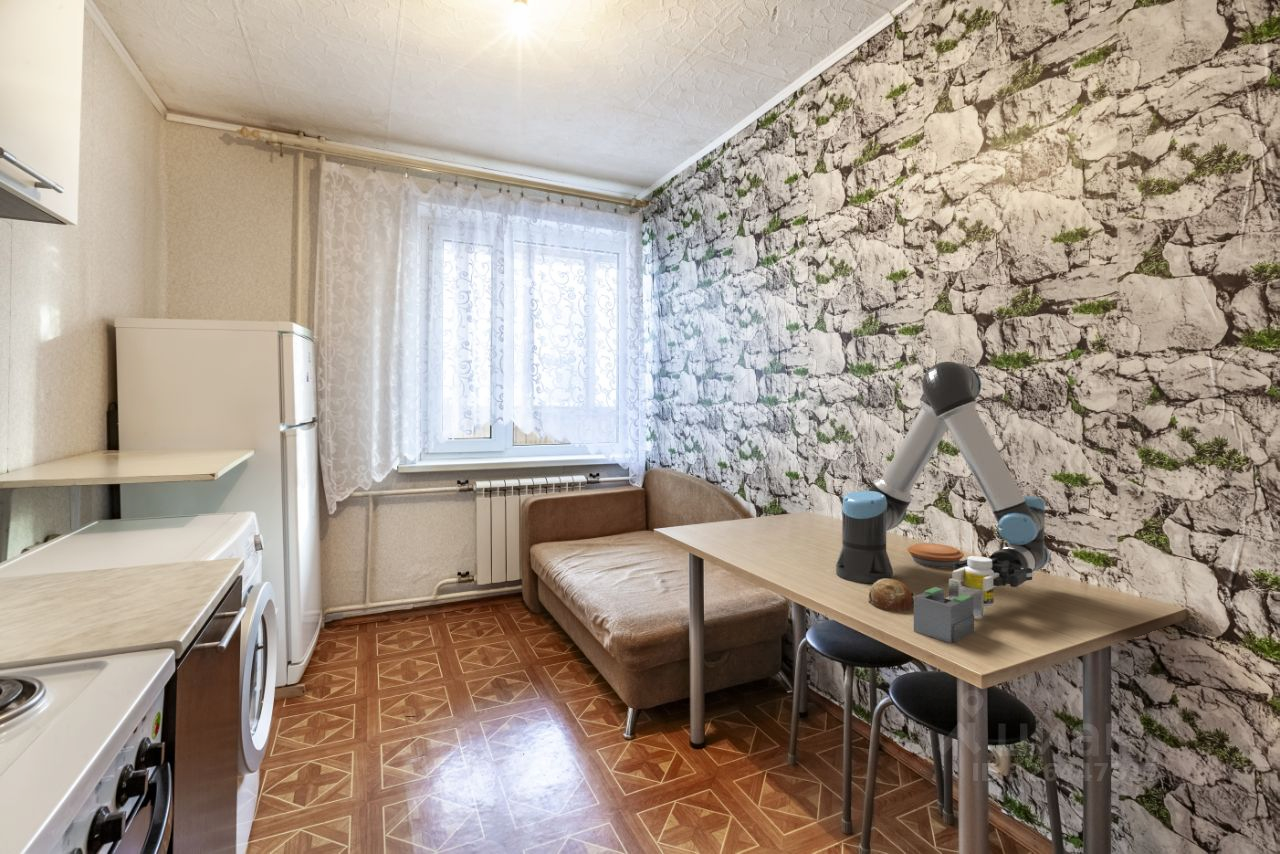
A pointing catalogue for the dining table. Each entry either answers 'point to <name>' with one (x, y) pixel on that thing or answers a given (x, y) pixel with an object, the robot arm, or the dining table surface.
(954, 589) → the plunger
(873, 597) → the bread roll
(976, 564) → the supplement bottle
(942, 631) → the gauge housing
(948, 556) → the pie
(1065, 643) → the dining table surface
